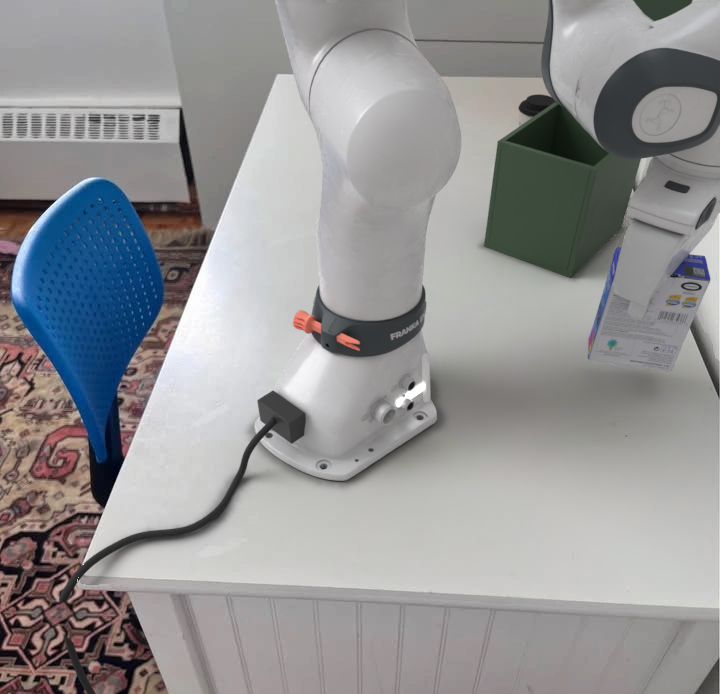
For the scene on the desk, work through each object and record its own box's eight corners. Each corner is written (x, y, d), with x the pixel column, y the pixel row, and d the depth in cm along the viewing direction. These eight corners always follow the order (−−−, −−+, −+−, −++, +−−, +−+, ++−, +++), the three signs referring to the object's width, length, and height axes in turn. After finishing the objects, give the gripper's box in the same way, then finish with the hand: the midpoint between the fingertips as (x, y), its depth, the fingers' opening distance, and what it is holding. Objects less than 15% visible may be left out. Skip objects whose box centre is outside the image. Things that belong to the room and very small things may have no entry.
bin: (570, 277, 104) (596, 170, 92) (483, 246, 110) (497, 141, 98) (621, 228, 113) (651, 124, 101) (538, 201, 119) (557, 100, 107)
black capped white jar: (503, 159, 129) (511, 101, 122) (524, 146, 133) (533, 88, 125) (537, 171, 126) (547, 111, 119) (557, 157, 130) (568, 98, 122)
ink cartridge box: (669, 344, 87) (716, 234, 76) (673, 373, 83) (723, 262, 73) (586, 333, 88) (621, 223, 77) (587, 361, 85) (623, 250, 74)
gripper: (700, 133, 77) (658, 250, 87) (622, 205, 66) (584, 330, 76) (760, 149, 74) (710, 268, 84) (689, 227, 63) (641, 353, 73)
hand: (650, 298), depth 80 cm, fingers closed on ink cartridge box, 6 cm apart
